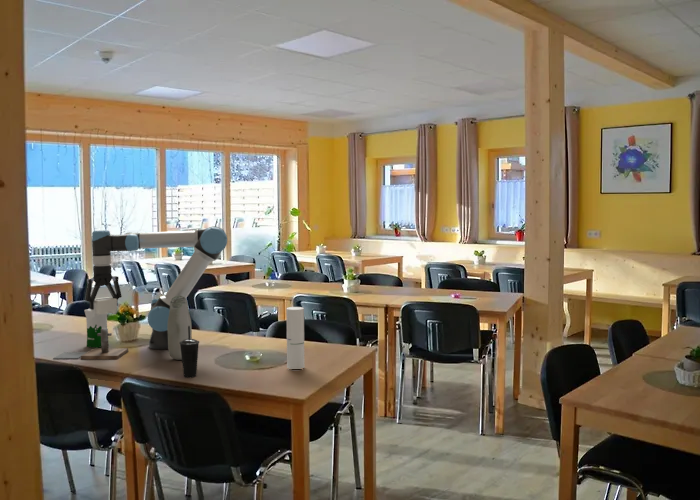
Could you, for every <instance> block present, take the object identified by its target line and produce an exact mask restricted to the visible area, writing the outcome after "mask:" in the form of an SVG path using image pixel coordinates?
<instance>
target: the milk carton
mask: <svg viewBox="0 0 700 500" xmlns="http://www.w3.org/2000/svg"><path fill="white" fill-rule="evenodd" d="M84 314H85V319H86V320H85V322H86V348H92V349H100V348H101V336H97V334H98V333H101V329H104V328H107V329H108V313H107V314H96V317H93V316H92V312H91V309H90V308H88V309H84ZM108 345H109V343H108Z"/></svg>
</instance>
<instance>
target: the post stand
mask: <svg viewBox="0 0 700 500" xmlns="http://www.w3.org/2000/svg"><path fill="white" fill-rule="evenodd" d="M112 335H113V333H112V332H110V333H109V328H108V327H107V328H104V329H101V333H98V334H97V336H101V347H100V348H91V350H89V351H86V352H87V353H85V354H83V355H82V356H81V358H80V360H119V358H121V357H123V356H124V355H125V354H127V353H128V352H129V348H126V347H124V348H123V347H122V348H109V347H110V346H109V345H108V344H109V337H111V336H112Z"/></svg>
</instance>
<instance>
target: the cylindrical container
mask: <svg viewBox="0 0 700 500" xmlns="http://www.w3.org/2000/svg"><path fill="white" fill-rule="evenodd" d="M285 314H286V368H289V369H301V368H304V369H305V308H304V307H303V306H302V307H301V306H289V307H286V313H285ZM289 369H288V370H289Z"/></svg>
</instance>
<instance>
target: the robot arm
mask: <svg viewBox="0 0 700 500" xmlns="http://www.w3.org/2000/svg"><path fill="white" fill-rule="evenodd" d="M91 245H92V246H91V249H92V264H93V266H92V268H93V270H92V271H93V272H92V273H93V277H92V278H91V277H90V278H86V289H85V296H84V301H85V302H88V303H89V309H91V310H92V316H93V317H96V302H94V300H95V298H97V295H98V293H99V289H101V287H103V286H105V287H107V290H108V292H109V293H110V296H111V298H116V299H117V307H119V306H118V303H119V302H118V300H119V299H120V298H122V296H123V295H122V293H121V292H122V291H121V289H120V288H121V287H120V283H119V276H116V275H115V276H114V275H113V274H112V265H111V264H112V254H111V253H112V252H133V251H134V252H135V251H138V250H140V249H163V248H165V249H170V248H171V249H172V248H190V247H191V248H193V251H194V252H193V253H192V254H191V256H190V258H189V259H188V261H187V262H186V263H185V265H184V267H183V268H182V270H181V271H180V273H179V274H178V276H177V277H176V279H175V280H174V281H173V282H172V284H171V286H170V288H169V289H168V290H167V292H166V293H165V295H160V296H159V297H158V298H153V299H152V300H151V303H150V306H151V309H150V310H149V312H148V314H147V323H148V325H149V327H150V328H151V329H152V330H151V335H150V337H149V341H148V348H149V349H152V350H153V349H154V350H168V331H167V324H168V317H169V311H170V302H171V300H172V298H173V297H175V296H183V297H185V298H186V299H188V298H187V297H188V296H189V295H190V293H191V292H192V290H193V289H194V287H195V286H196V285H197V283H198V281H199V280H200V278H201V277H202V275H203V274H204V273H205V271H206V269H208V267H209V265H210V264H211V262H214V261H215V262H216V261H217V259H218V257H219V256H220V254H221V253H222V252H223V251H224V250H225V248H226V247H227V245H228V236H227V234H226V232H225V230H224V229H223V228H222V227H219V226H216V225H215V226H208V227H204V228H203V227H202V228H196V229H195V230H184V231H183V230H181V231H180V230H179V231H153V232H152V231H149V232H126V233H124V234H123V233H122V234H111V231H110V230H109V229H108V230H99V229H98V230H94V231H92V234H91ZM111 281H112V282H113V284H112V283H111ZM93 283H95V284H94V285H93ZM113 285H114V286H113ZM113 287H114V288H113ZM92 289H93V290H92ZM111 314H113V315H117V312H114V313H111Z"/></svg>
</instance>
